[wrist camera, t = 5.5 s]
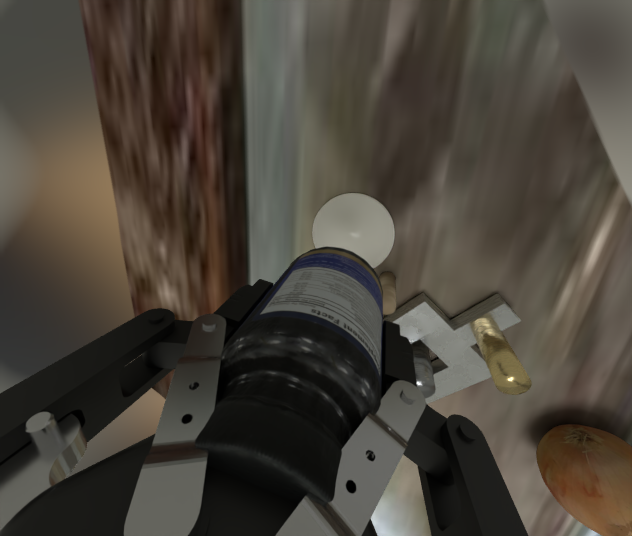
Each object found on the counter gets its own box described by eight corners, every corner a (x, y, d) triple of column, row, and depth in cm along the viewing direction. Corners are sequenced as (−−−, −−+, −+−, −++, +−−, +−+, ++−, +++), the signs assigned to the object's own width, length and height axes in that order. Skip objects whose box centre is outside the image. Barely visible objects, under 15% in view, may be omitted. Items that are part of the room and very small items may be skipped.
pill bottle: (330, 343, 18) (262, 574, 8) (268, 280, 17) (110, 460, 7) (405, 299, 15) (438, 573, 5) (337, 221, 14) (228, 385, 4)
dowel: (395, 272, 29) (396, 299, 24) (394, 286, 30) (395, 315, 25) (379, 271, 30) (376, 297, 24) (378, 285, 30) (376, 313, 25)
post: (430, 341, 32) (437, 379, 26) (426, 360, 33) (433, 401, 28) (402, 337, 32) (404, 374, 27) (400, 357, 34) (402, 395, 28)
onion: (542, 464, 35) (592, 570, 26) (508, 415, 33) (549, 511, 24) (635, 453, 31) (733, 575, 22) (602, 396, 29) (694, 504, 20)
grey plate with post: (408, 398, 36) (413, 471, 28) (348, 342, 35) (334, 401, 26) (541, 339, 28) (603, 418, 19) (467, 262, 26) (501, 313, 18)
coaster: (397, 191, 26) (397, 192, 25) (391, 273, 29) (391, 275, 29) (311, 193, 28) (309, 194, 27) (315, 268, 32) (314, 270, 31)
